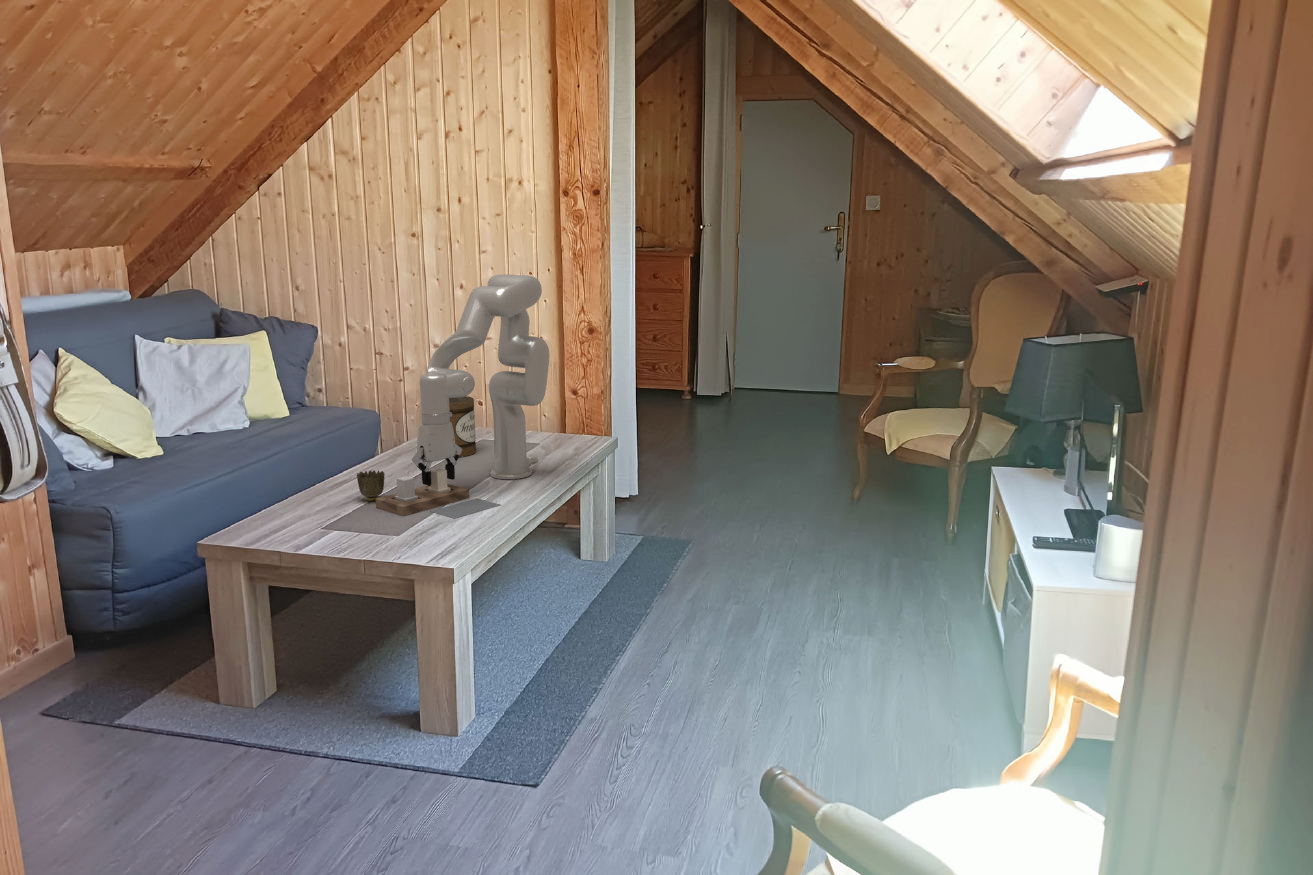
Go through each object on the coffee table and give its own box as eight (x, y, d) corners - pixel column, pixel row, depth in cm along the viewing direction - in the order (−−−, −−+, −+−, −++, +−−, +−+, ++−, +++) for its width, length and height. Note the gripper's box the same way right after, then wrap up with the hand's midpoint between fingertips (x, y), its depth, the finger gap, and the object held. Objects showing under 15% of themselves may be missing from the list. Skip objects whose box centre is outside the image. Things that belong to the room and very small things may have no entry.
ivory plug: (440, 495, 278) (438, 467, 276) (451, 498, 275) (449, 470, 273) (428, 498, 275) (426, 470, 273) (439, 501, 272) (437, 473, 270)
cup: (385, 504, 271) (383, 475, 269) (357, 505, 270) (355, 477, 268) (387, 496, 278) (385, 469, 276) (359, 498, 277) (357, 470, 275)
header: (441, 492, 283) (441, 482, 282) (469, 499, 275) (468, 489, 275) (376, 509, 266) (375, 498, 266) (403, 517, 259) (403, 506, 258)
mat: (476, 500, 275) (476, 498, 275) (501, 506, 269) (501, 504, 268) (430, 513, 263) (430, 511, 263) (454, 520, 257) (454, 518, 256)
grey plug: (407, 503, 269) (405, 475, 268) (418, 507, 266) (416, 478, 265) (395, 507, 266) (393, 478, 265) (406, 510, 263) (404, 481, 262)
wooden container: (471, 458, 322) (468, 391, 317) (425, 458, 323) (422, 391, 318) (480, 447, 337) (477, 383, 332) (436, 447, 337) (433, 383, 332)
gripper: (452, 412, 279) (455, 473, 283) (400, 422, 266) (404, 486, 269) (469, 415, 274) (472, 477, 278) (418, 425, 261) (421, 490, 265)
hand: (438, 481), depth 274 cm, fingers open, 7 cm apart
